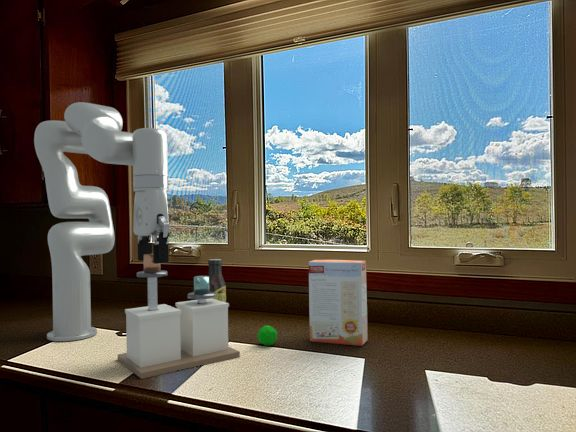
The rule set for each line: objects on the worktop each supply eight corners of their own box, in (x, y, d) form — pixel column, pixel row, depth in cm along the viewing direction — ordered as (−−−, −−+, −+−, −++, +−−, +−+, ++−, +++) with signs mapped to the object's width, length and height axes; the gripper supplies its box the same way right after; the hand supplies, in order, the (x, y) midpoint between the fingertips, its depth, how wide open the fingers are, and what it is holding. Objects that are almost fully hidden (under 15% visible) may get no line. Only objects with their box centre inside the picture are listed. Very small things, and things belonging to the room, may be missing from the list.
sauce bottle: (221, 329, 133) (220, 260, 133) (201, 328, 134) (200, 260, 134) (229, 324, 139) (228, 258, 139) (209, 323, 140) (208, 258, 140)
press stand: (117, 359, 106) (116, 307, 106) (208, 342, 120) (207, 295, 120) (141, 378, 93) (140, 319, 93) (239, 356, 107) (238, 305, 107)
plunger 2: (183, 336, 111) (182, 276, 111) (208, 332, 114) (207, 274, 114) (195, 342, 105) (194, 279, 105) (221, 337, 109) (220, 276, 109)
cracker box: (368, 340, 119) (367, 259, 119) (362, 347, 113) (361, 262, 113) (316, 336, 124) (315, 258, 124) (309, 341, 118) (307, 260, 118)
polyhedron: (280, 343, 117) (280, 324, 117) (271, 348, 113) (271, 329, 113) (263, 341, 120) (263, 323, 120) (254, 346, 115) (253, 327, 115)
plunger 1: (133, 318, 103) (132, 254, 103) (161, 314, 107) (160, 252, 107) (143, 323, 98) (142, 256, 98) (172, 319, 102) (171, 254, 102)
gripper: (122, 187, 107) (123, 260, 107) (148, 181, 93) (150, 265, 93) (153, 187, 112) (155, 258, 112) (182, 182, 98) (184, 262, 98)
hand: (152, 261), depth 102 cm, fingers open, 9 cm apart
